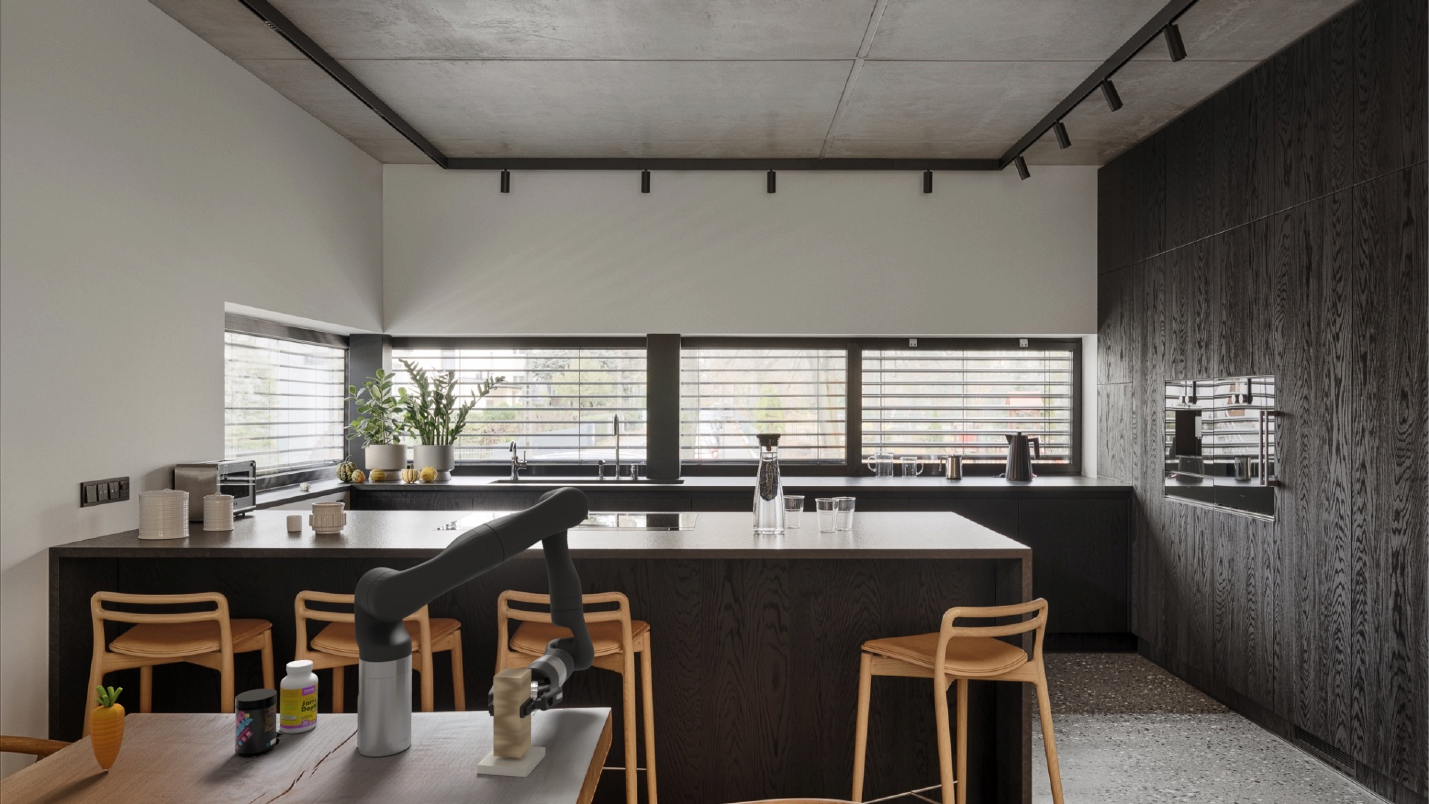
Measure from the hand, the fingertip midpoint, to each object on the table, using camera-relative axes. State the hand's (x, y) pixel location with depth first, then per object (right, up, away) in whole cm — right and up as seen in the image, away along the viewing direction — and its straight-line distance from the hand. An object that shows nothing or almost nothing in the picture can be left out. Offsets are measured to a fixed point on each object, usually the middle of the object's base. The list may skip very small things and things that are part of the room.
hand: (506, 711), depth 142 cm
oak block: (0, -8, +2) cm, 8 cm away
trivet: (0, -10, +2) cm, 11 cm away
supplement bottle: (-46, -11, +19) cm, 51 cm away
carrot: (-70, -10, -1) cm, 71 cm away
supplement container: (-49, -11, +8) cm, 50 cm away
